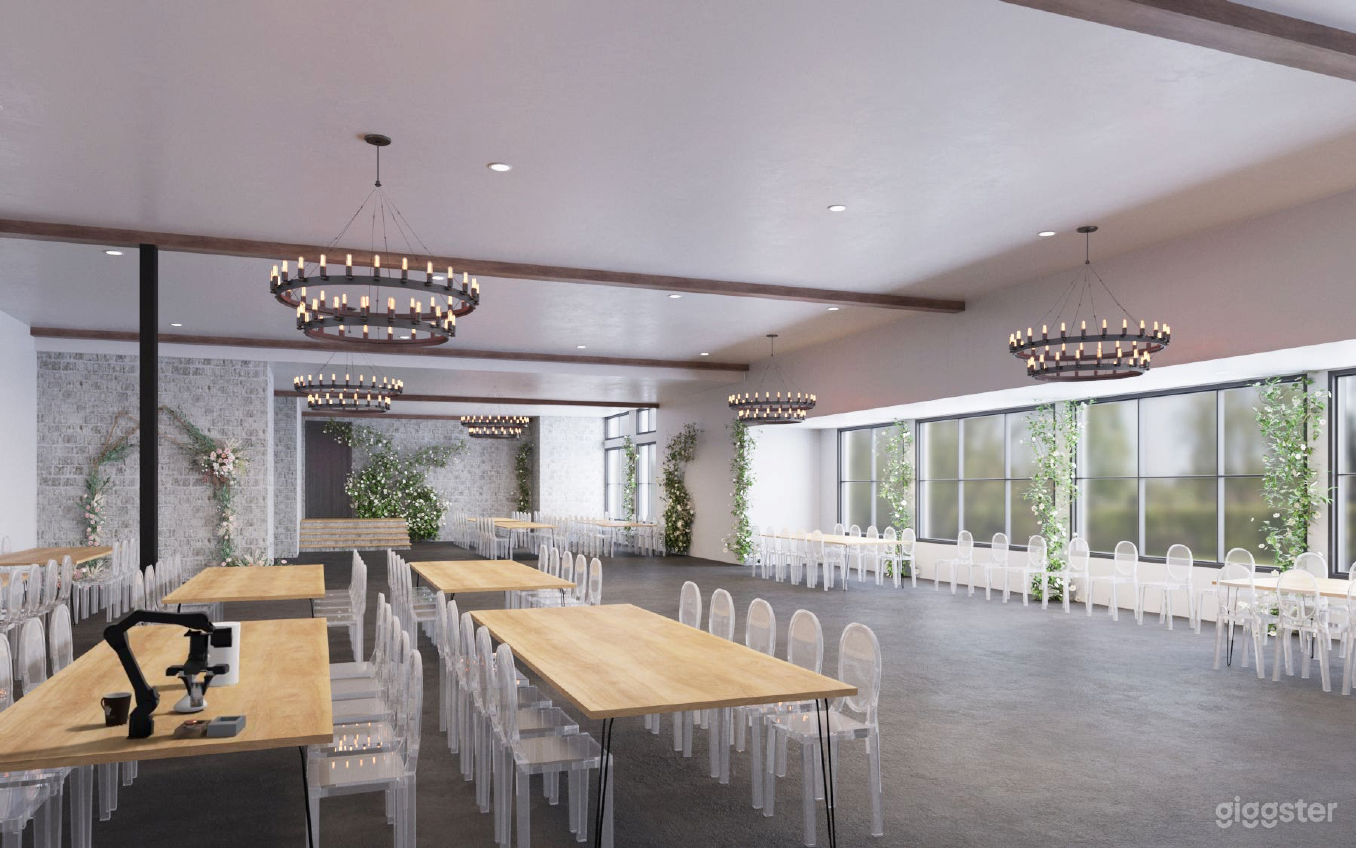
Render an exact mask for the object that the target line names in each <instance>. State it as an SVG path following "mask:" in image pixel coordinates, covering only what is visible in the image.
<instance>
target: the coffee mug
mask: <svg viewBox="0 0 1356 848" xmlns="http://www.w3.org/2000/svg"><path fill="white" fill-rule="evenodd" d="M132 695H133V693H132V692H126V691H125V692H121V691H120V692H113V693H107V694H105V695H103V697H101V699H100V706H101V708H102V709H103V710H104V711H103V712H104V721H105V726H106V727H119V725H120V726H124V725H123V724H125V725H126V724H128V721H129V719H128V718H129V715H130V708H131V707H130V706H131V702H132V697H133V696H132Z"/></svg>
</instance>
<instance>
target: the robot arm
mask: <svg viewBox="0 0 1356 848" xmlns="http://www.w3.org/2000/svg"><path fill="white" fill-rule="evenodd" d="M138 623H151V624H163V625H166V624H167V625H175V626H181V627H184V628H187V629H188V630H187V631H186V632H185V633H184V634H183V637H186V638H189V651H188V654H187V659H186V661H185V663H184V664H172V665H170V666H168V667H167V668H166V669H165V677H176V676H177V675H178V676H177V679H180V680H181V681H182V682H183V684H184V685H185V688H186V691H187V692H188V695H189V696H190V692H191V682H192V675H198V676H199V675H200V673H205V675H204V676H203V681H204V685H203V697H204V696H205V695H206V693H207V691H208V688H209V687H210V686H209V684H210V682H211V680H212V678H213V677H214V676H216V675H223V674H226V673H228V672H229V665H228V664H216V665H215V666H213V667H207V666H208V654H209V650H208V640H209V636H211V637H210V645H212V646H214V648H227V647H232V640H233V636H232V627H227V628H215V626H214V625H213V624H212V621H211V617H210V615H209V613H208V612H206V611H204V610H198V611H197V610H196V611H186V612H174V611H164V610H163V611H160V610H152V609H151V610H148V609H143V608H139V609H136V610H134V611H133V612H132V613H131V614H130V615H128V616H127V617H125V618H123V620H121V621H120V622H119V621H118V622H117V621H116V622H113V623H111V624H109V625H108V626H107V627H106V628H105V629H103V632H102V636H103V639H104V641H106V643H107V644H108V645H109V647H110V648H111V649H112V650H113V651H115V653H116V654H117V657H118V660H119V661H120V663H121V666H122V667H123V670H124V672H125V674H126V676H127V678H128V680H129V682H130V685H131V687H132V688H133V691H134V700H135V704H136V706H135V707H134V708H133V709H132V711H131V712H129V714H128V718H129V719H128V733H127V734H128V735H127V736H126V737H125V739H127V740H129V739H147V737H148V738H149V737H150V736H152V735H153V734H154V733H155V720H154V717H153V716H154V715H151V714H152V713H154V711H156V709H157V708H158V706H159V704H160V701H161V698H160V697H161V694H160V693H159V692H158V689H157V686H156V685H153V686H151V685H150V684H148V682H147V680H146V678H145V676H144V674H143V672H142V669H141V667H140V665H139V663H138V661H137V658H136V656H135V654H134V652H133V651H132V648H131V646H130V640H129V634H128V630H130V629H131V628H133V627H134V626H135V625H137V624H138ZM187 692H186V693H187Z"/></svg>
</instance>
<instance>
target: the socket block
mask: <svg viewBox="0 0 1356 848" xmlns="http://www.w3.org/2000/svg"><path fill="white" fill-rule="evenodd" d="M196 720H197V723H195V728H185V726H186V724H184V722H183V723H181V724H180V725H178V726H177V727H175V728H174V730H173V731H174V732H173V739H178V740H179V739H198V738H199V737H200V738H201V737H203V736H204V735H205V734H207V725H208V724H209V723H210V722H212V721H213V719H196ZM200 738H199V739H200Z"/></svg>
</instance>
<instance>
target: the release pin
mask: <svg viewBox="0 0 1356 848" xmlns="http://www.w3.org/2000/svg"><path fill="white" fill-rule="evenodd" d="M197 720H198V719H186V720H183V723H184V724H186V726H185V728H195V723H197Z"/></svg>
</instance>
